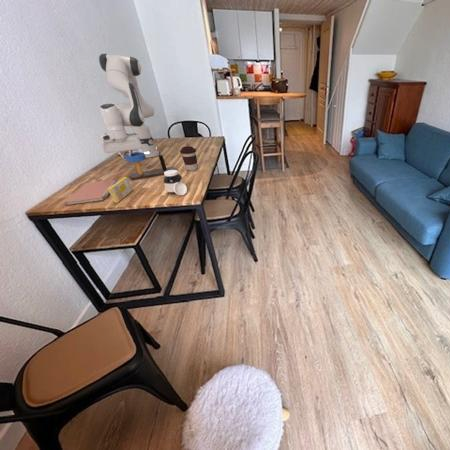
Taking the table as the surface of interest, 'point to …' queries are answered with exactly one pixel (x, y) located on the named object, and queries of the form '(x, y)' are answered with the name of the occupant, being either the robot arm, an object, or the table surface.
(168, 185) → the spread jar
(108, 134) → the robot arm
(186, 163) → the coffee cup
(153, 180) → the table surface
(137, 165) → the peg rack
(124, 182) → the candy box
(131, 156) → the tape roll
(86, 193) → the notebook
